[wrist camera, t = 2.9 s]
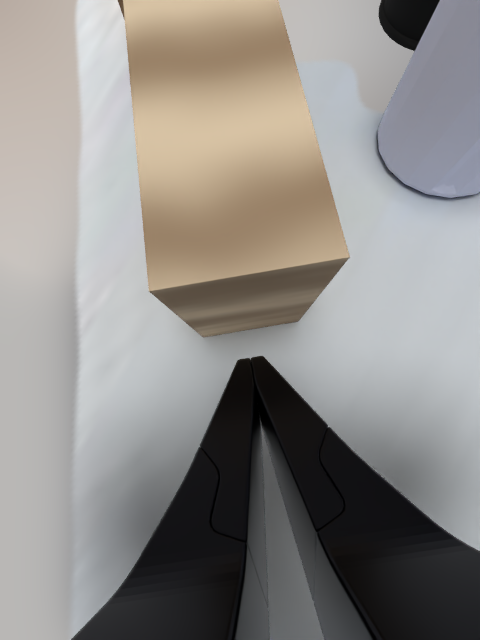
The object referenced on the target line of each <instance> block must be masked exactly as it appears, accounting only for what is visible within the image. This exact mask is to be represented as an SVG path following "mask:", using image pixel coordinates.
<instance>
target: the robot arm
mask: <svg viewBox="0 0 480 640" xmlns="http://www.w3.org/2000/svg"><path fill="white" fill-rule="evenodd" d="M259 414H260V415H259ZM260 420H261V422H260ZM261 425H262V429H263V432H264V436H265V439H266V443H267V446H268V449H269V453H270V456H271V460H272V463H273V466H274V470H275V473H276V477H277V480H278V483H279V487H280V490H281V494H282V497H283V500H284V504H285V507H286V510H287V514H288V517H289V521H290V524H291V527H292V531H293V534H294V538H295V541H296V544H297V548H298V551H299V555H300V558H301V561H302V565H303V568H304V571H305V575H306V578H307V582H308V585H309V588H310V592H311V595H312V599H313V601H314V606H315V609H316V612H317V616H318V619H319V622H320V626H321V629H322V633H323V636H324V639H325V640H480V551H478V550H476V549H474V548H473V547H471V546H469V545H467V544H465V543H464V542H462V541H461V540H459V539H457V538H456V537H454V536H453V535H451V534H450V533H448V532H447V531H445V530H444V529H443V528H441V527H440V526H439V525H437V524H436V523H435V522H434V521H432V520H431V519H430V518H429V517H428V516H427V515H425V514H424V513H423V512H422V511H421V510H420V509H418V508H417V507H416V506H415V505H414V504H413V503H411V502H410V501H409V500H408V499H407V498H406V497H405V496H403V495H402V494H401V493H400V492H399V491H398V490H396V489H395V488H394V487H393V486H392V485H391V484H390V483H388V482H387V481H386V480H385V479H384V478H383V477H381V476H380V475H379V474H378V473H377V472H376V471H374V470H373V469H372V468H371V467H370V466H369V465H368V464H367V463H366V462H365V461H363V460H362V459H361V458H360V457H359V456H358V455H357V454H356V453H355V452H354V451H353V450H352V449H351V448H350V447H349V446H348V445H347V444H346V443H345V442H344V441H343V440H342V439H341V438H340V437H339V436H338V435H337V434H336V433H335V432H334V431H333V430H332V429H331V428H330V427H328V425H327V424H326V423H325V421H324V420H323V419H322V418H321V417H320V416H319V415H318V414H317V413H316V412H315V411H314V410H313V409H312V408H311V407H310V405H309V404H308V403H307V402H306V401H305V400H304V399H303V398H302V397H301V396H300V395H299V394H298V393H297V392H296V391H295V389H294V388H293V387H292V386H291V385H290V384H289V383H288V382H287V381H286V380H285V379H284V378H283V377H282V376H281V375H280V373H279V372H278V371H277V370H276V369H275V368H274V367H273V366H272V365H271V364H270V363H269V362H268V361H267V360H266V359H265V358H264V357H263V356H258V357H252V358H251V360H250V358H246V359H239V360H238V361H237V363H236V365H235V367H234V370H233V372H232V374H231V376H230V379H229V381H228V383H227V385H226V388H225V390H224V392H223V394H222V397H221V399H220V401H219V403H218V406H217V408H216V410H215V412H214V415H213V417H212V419H211V421H210V424H209V426H208V428H207V430H206V433H205V435H204V437H203V439H202V442H201V444H200V447H199V448H198V450H197V453H196V455H195V457H194V459H193V462H192V464H191V466H190V468H189V470H188V472H187V474H186V476H185V478H184V480H183V482H182V484H181V486H180V487H179V489H178V491H177V493H176V495H175V497H174V498H173V500H172V502H171V504H170V505H169V507H168V509H167V511H166V512H165V514H164V516H163V518H162V519H161V521H160V523H159V524H158V526H157V528H156V530H155V531H154V533H153V535H152V537H151V538H150V540H149V542H148V543H147V545H146V547H145V549H144V550H143V552H142V554H141V556H140V557H139V559H138V561H137V562H136V564H135V566H134V567H133V569H132V570H131V572H130V573H129V575H128V576H127V578H126V579H125V581H124V582H123V583H122V585H121V586H120V587H119V589H118V590H117V591H116V592H115V594H114V595H113V596H112V597H111V598H110V600H109V601H108V602H107V603H106V604H105V605H104V606H103V607H102V608H101V609H100V610H99V611H98V612H97V613H96V614H95V615H94V616H93V618H92V619H91V620H90V621H89V622H88V623H87V624H86V625H85V626H84V627H83V628H82V629H81V630H80V631H79V632H78V633H77V634H76V635H75V636H74V637H73V638H72V639H71V640H270V634H269V611H268V584H267V559H266V534H265V509H264V484H263V459H262V434H261Z"/></svg>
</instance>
